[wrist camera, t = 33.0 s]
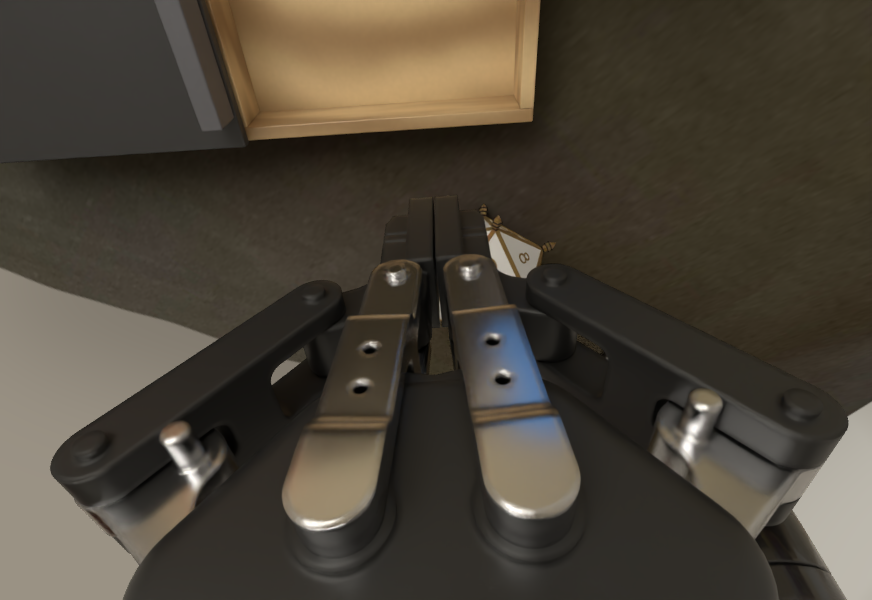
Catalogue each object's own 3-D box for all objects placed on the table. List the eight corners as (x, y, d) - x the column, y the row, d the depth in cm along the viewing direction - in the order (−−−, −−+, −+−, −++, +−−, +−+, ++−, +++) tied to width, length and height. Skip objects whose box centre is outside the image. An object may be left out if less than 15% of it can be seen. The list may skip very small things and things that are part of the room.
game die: (445, 210, 36) (363, 222, 27) (561, 190, 31) (507, 196, 23) (464, 328, 37) (392, 375, 28) (577, 324, 33) (533, 377, 24)
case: (524, 104, 27) (532, 122, 25) (18, 138, 28) (-17, 158, 26) (536, -135, 21) (549, -139, 19) (-116, -83, 22) (-179, -81, 20)
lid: (249, 143, 25) (235, 162, 23) (-22, 160, 26) (-57, 181, 24) (172, -109, 19) (144, -111, 17) (-187, -81, 19) (-253, -79, 17)
